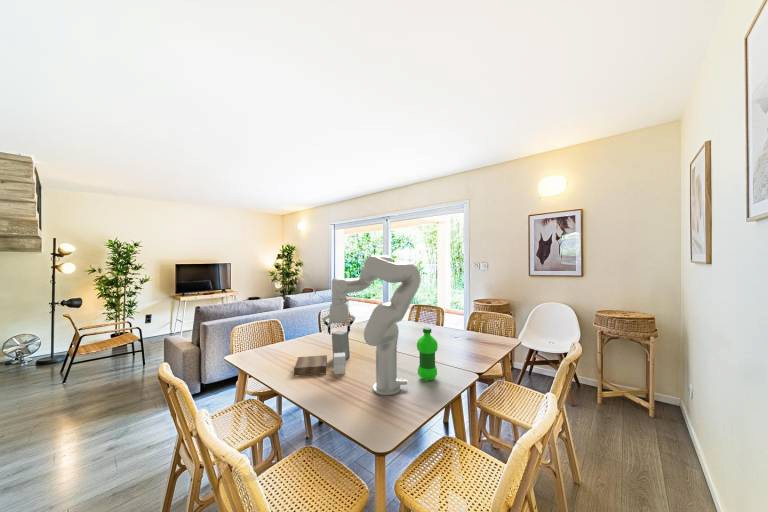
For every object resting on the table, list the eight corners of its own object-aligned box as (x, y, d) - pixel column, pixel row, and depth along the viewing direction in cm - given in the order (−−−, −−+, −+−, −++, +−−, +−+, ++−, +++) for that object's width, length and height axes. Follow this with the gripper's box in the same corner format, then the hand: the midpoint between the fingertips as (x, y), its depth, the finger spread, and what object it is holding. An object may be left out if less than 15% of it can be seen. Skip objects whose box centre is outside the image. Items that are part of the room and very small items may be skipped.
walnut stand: (327, 362, 163) (326, 355, 163) (326, 373, 147) (326, 365, 147) (298, 364, 160) (298, 357, 160) (294, 375, 144) (294, 368, 144)
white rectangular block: (345, 369, 152) (344, 352, 152) (345, 373, 147) (345, 356, 147) (333, 369, 151) (333, 353, 151) (333, 374, 146) (333, 357, 146)
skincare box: (350, 357, 170) (349, 331, 170) (342, 361, 164) (342, 334, 164) (339, 355, 174) (339, 329, 174) (331, 358, 168) (331, 332, 168)
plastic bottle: (424, 385, 133) (424, 332, 133) (413, 376, 142) (412, 327, 142) (442, 381, 137) (441, 329, 137) (429, 372, 146) (429, 325, 147)
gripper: (354, 299, 154) (354, 330, 154) (322, 300, 151) (322, 332, 151) (355, 302, 147) (355, 334, 147) (322, 303, 144) (321, 336, 144)
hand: (338, 333), depth 149 cm, fingers open, 9 cm apart
